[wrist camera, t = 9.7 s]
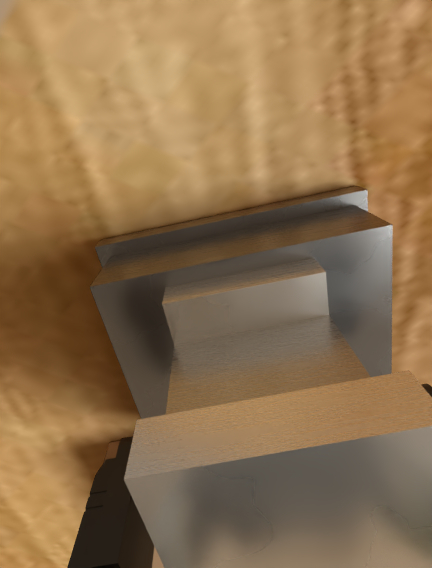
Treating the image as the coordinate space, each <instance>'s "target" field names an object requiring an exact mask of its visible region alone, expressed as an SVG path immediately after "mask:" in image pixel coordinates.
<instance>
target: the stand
mask: <svg viewBox="0 0 432 568" xmlns="http://www.w3.org/2000/svg"><path fill="white" fill-rule="evenodd" d="M95 249H96V252H97V255H98V257H99V260H100V263H101V266H102V270H101V271H100V272H99V274H98V275H97V277H96V278H95V280H94V281H93V283H92V284H91V286H90V289H91V292H92V294H93V297H94V300H95V302H96V305H97V307H98V310H99V312H100V315H101V317H102V320H103V322H104V325H105V328H106V330H107V333H108V335H109V338H110V340H111V343H112V345H113V348H114V350H115V353H116V356H117V358H118V361H119V363H120V366H121V368H122V371H123V373H124V376H125V378H126V381H127V384H128V386H129V389H130V391H131V394H132V396H133V399H134V401H135V404H136V406H137V409H138V412H139V414H140V417H141V419H145V418H150V417H156V416H161V415H166V407H167V399H168V391H169V383H170V375H171V366H172V358H173V350H174V342H173V339H172V336H171V332H170V329H169V326H168V322H167V319H166V316H165V312H164V309H163V306H162V302H163V298H164V293H165V288H166V287H171V286H176V285H181V284H186V283H191V282H196V281H201V280H206V279H211V278H216V277H221V276H226V275H231V274H236V273H241V272H246V271H251V270H256V269H261V268H266V267H271V266H276V265H281V264H286V263H291V262H296V261H301V260H306V259H311V258H314V259H315V260H316V261H317V262H318V263H319V264H320V266H321V267H322V268H323V269H324V270H325V272H326V281H327V294H328V307H329V316H330V317H331V319H332V320H333V322H334V323H335V325H336V326H337V328H338V329H339V331H340V332H341V334H342V335H343V337H344V338H345V340H346V341H347V343H348V344H349V346H350V347H351V349H352V350H353V352H354V353H355V354H356V356H357V357H358V359H359V360H360V362H361V363H362V365H363V366H364V368H365V369H366V371H367V372H368V374H369V375H370V377H376V376H381V375H387V374H391V364H392V224H390V223H388V222H386V221H384V220H382V219H380V218H379V217H377V216H375V215H373V214H371V213H369V212H368V203H367V189H364V188H362V187H359V186H353V187H348V188H343V189H339V190H334V191H329V192H325V193H320V194H315V195H310V196H306V197H301V198H296V199H291V200H287V201H282V202H277V203H273V204H268V205H263V206H258V207H254V208H249V209H244V210H240V211H235V212H230V213H225V214H221V215H216V216H211V217H207V218H202V219H197V220H192V221H188V222H183V223H178V224H173V225H169V226H164V227H159V228H155V229H150V230H145V231H140V232H136V233H131V234H126V235H122V236H117V237H112V238H107V239H103V240H101V241H100V242H99V243H98V244H97V245H96V246H95Z"/></svg>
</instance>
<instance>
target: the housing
mask: <svg viewBox="0 0 432 568" xmlns="http://www.w3.org/2000/svg"><path fill="white" fill-rule="evenodd" d="M162 306H163V309H164V312H165V316H166V319H167V322H168V326H169V329H170V332H171V336H172V339H173V342H174V350H173V358H172V366H171V375H170V383H169V391H168V399H167V407H166V415H161V416H156V417H150V418H145V419H139V420H137V422H136V426H135V431H134V435H133V440H132V445H131V449H130V454H129V458H128V463H127V467H126V472H125V477H124V481H125V483H126V485H127V487H128V490H129V492H130V494H131V496H132V498H133V500H134V503H135V505H136V507H137V509H138V511H139V514H140V516H141V518H142V520H143V522H144V524H145V527H146V529H147V531H148V533H149V535H150V537H151V540H152V542H153V544H154V546H155V548H156V551H157V553H158V555H159V557H160V559H161V561H162V564H163V566H164V568H432V397H431V396H430V395H429V394H428V392H427V391H426V390H425V389H424V388H423V386H422V385H421V384H420V383H419V382H418V380H417V379H416V378H415V377H414V376H413V375H412V373H411V372H410V371H403V372H398V373H392V374H387V375H381V376H376V377H370V375H369V374H368V372H367V371H366V369H365V368H364V366H363V365H362V363H361V362H360V360H359V359H358V357H357V356H356V354H355V353H354V352H353V350H352V349H351V347H350V346H349V344H348V343H347V341H346V340H345V338H344V337H343V335H342V334H341V332H340V331H339V329H338V328H337V326H336V325H335V323H334V322H333V320H332V319H331V317H330V316H329V307H328V294H327V281H326V272H325V270H324V269H323V268H322V267H321V266H320V264H319V263H318V262H317V261H316V260H315V259H314V258H311V259H306V260H301V261H296V262H291V263H286V264H281V265H276V266H271V267H266V268H261V269H256V270H251V271H246V272H241V273H236V274H231V275H226V276H221V277H216V278H211V279H206V280H201V281H196V282H191V283H186V284H181V285H176V286H171V287H166V288H165V293H164V298H163V302H162Z"/></svg>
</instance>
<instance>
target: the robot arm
mask: <svg viewBox="0 0 432 568" xmlns="http://www.w3.org/2000/svg"><path fill="white" fill-rule="evenodd" d="M422 386H423V388H424V389H425V390H426V391H427V392H428V394H429V395H430V396H431V397H432V387H431V386H430V385H428V384H422ZM132 440H133V436H132V437H127V438H122V439H121V440H120V442H119V446H118V450H117V453H116V457H115V458H111V459H106V460H105V462H104V463H103V465H102V466H101V468H100V469H99V471H98V472H97V474H96V475H95V478H94V481H93V485H92V488H91V491H90V497H89V498H88V501H87V505H86V511H85V512H84V515H83V518H82V521H81V524H80V528H79V531H78V534H77V538H76V541H75V544H74V548H73V551H72V554H71V558H70V561H69V564H68V568H152V563H153V554H154V544H153V542H152V540H151V537H150V535H149V533H148V531H147V529H146V527H145V524H144V522H143V520H142V518H141V516H140V514H139V511H138V509H137V507H136V505H135V503H134V500H133V498H132V496H131V494H130V492H129V490H128V487H127V485H126V483H125V481H124V477H125V472H126V467H127V463H128V458H129V454H130V449H131V445H132Z"/></svg>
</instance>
